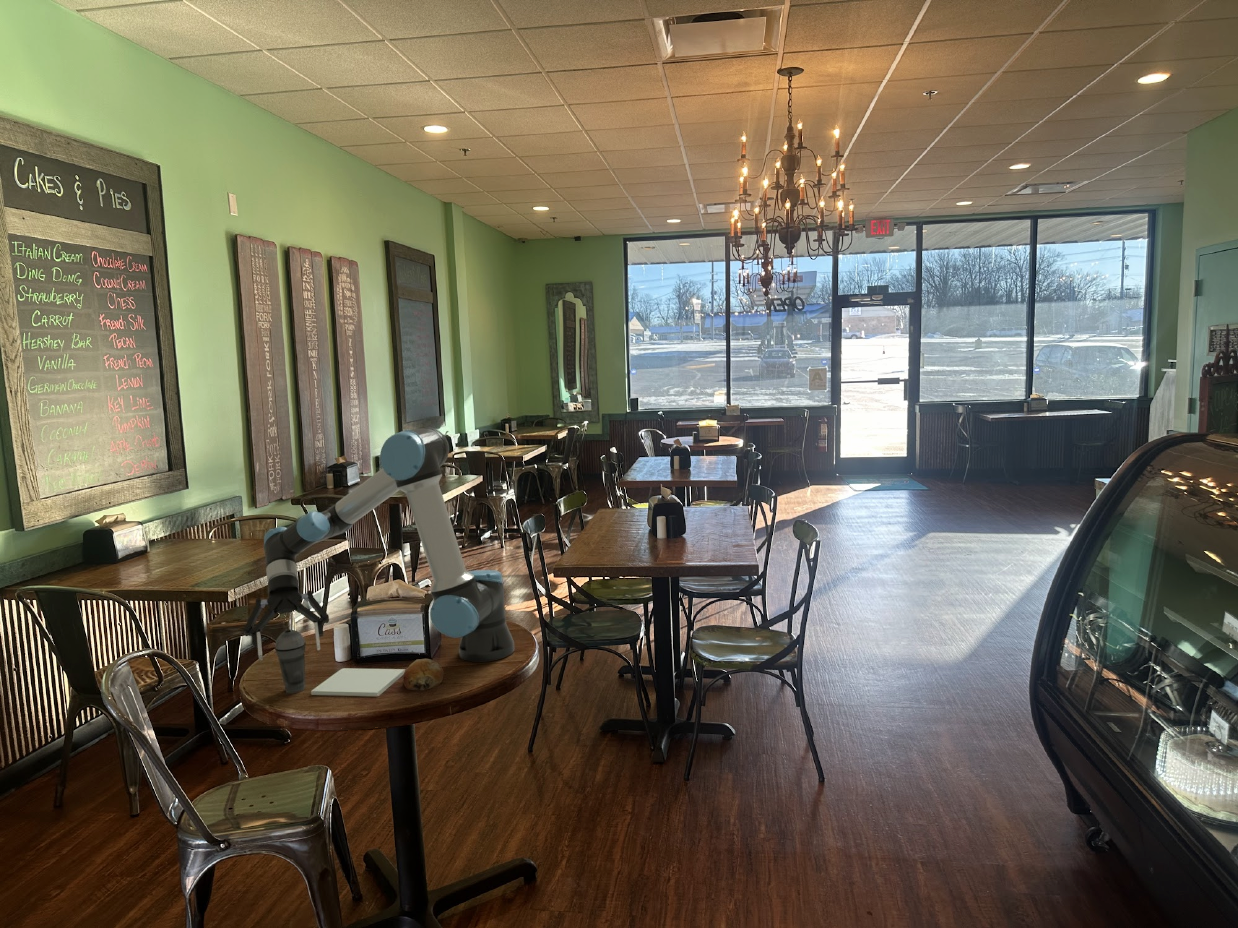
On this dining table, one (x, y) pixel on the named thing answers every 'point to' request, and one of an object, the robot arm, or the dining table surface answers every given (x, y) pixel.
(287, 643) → the beverage cup
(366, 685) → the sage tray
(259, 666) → the dining table surface
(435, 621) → the robot arm
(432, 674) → the bread roll
